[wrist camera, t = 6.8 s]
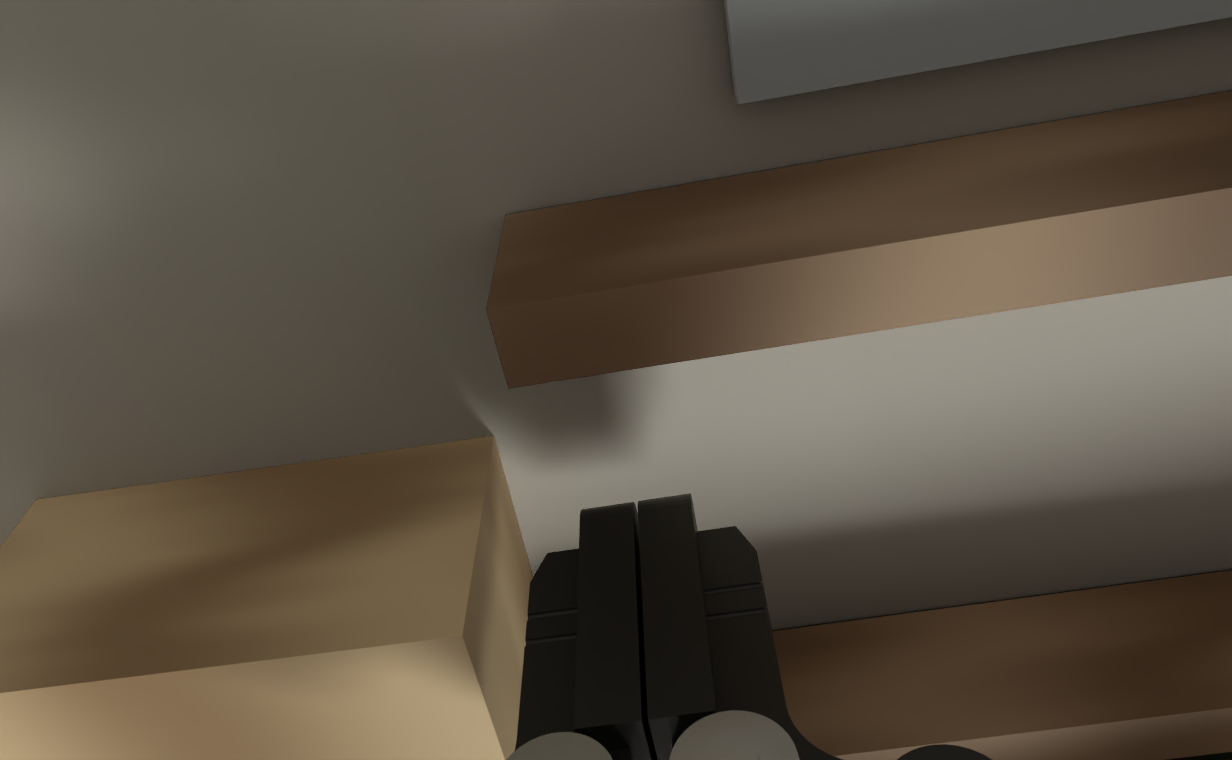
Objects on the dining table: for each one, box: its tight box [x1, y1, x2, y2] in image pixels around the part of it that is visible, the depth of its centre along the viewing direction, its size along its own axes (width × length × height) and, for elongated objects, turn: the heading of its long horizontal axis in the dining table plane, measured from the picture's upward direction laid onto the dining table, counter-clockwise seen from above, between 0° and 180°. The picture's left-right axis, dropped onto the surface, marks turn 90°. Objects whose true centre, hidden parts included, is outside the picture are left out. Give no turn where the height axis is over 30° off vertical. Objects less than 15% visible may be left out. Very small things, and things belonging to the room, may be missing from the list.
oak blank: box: [0, 436, 533, 760], centre depth 14 cm, size 7×4×4 cm, turn 99°
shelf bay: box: [486, 91, 1232, 760], centre depth 13 cm, size 17×9×2 cm, turn 100°
